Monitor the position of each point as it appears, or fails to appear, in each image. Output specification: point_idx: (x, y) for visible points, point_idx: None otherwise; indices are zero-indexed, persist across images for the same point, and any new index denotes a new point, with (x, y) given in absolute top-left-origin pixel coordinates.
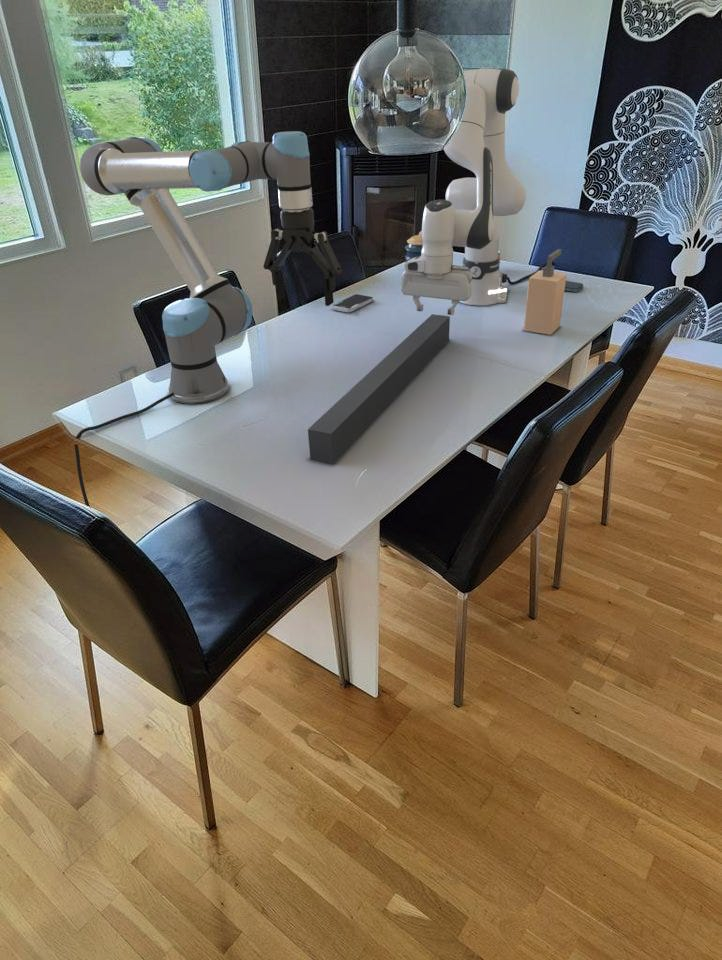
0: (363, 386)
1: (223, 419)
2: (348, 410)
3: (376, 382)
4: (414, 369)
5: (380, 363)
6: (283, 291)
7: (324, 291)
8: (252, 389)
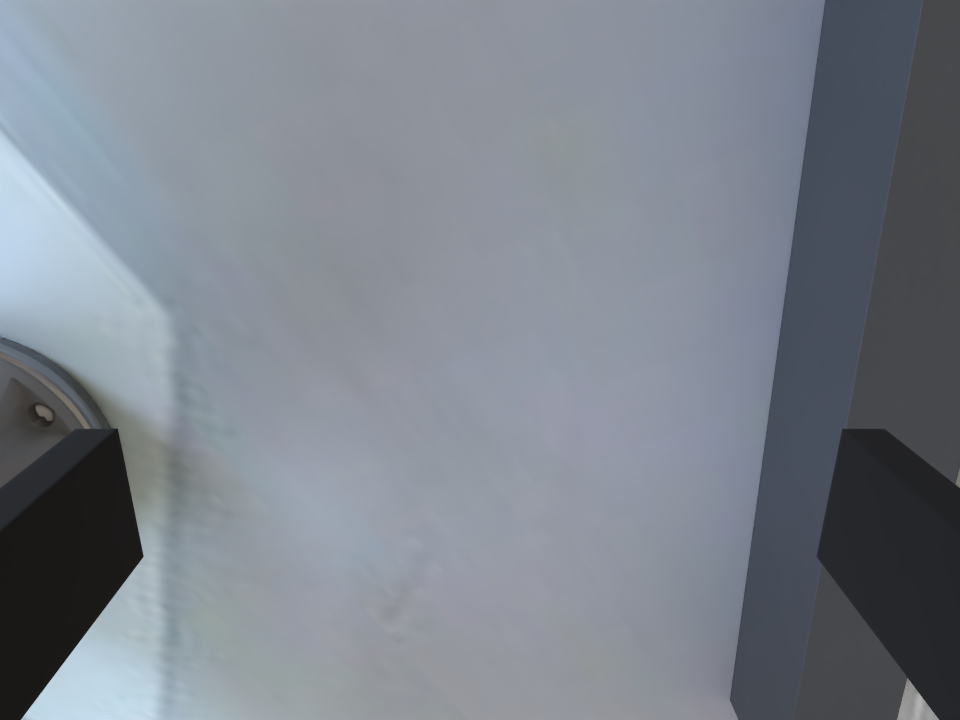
0: (893, 432)
1: (279, 603)
2: (888, 652)
3: (951, 363)
4: None
5: (916, 97)
6: (74, 503)
7: (928, 701)
8: (189, 343)
